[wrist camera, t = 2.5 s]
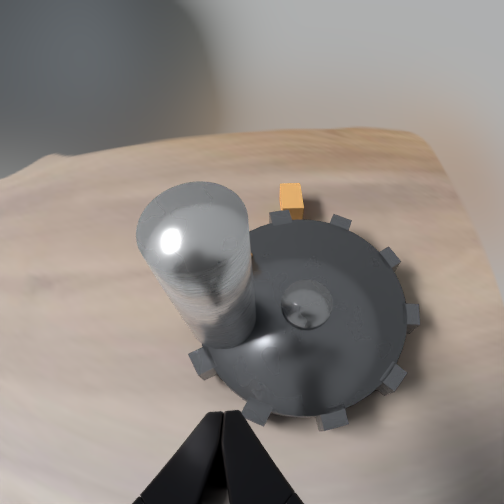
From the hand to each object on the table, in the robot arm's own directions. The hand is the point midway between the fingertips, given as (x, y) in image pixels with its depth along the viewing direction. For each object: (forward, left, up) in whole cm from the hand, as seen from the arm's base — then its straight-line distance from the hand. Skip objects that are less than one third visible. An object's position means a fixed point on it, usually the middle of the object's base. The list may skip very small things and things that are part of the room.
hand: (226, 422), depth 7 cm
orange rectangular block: (+9, -14, -12) cm, 20 cm away
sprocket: (+2, -7, -12) cm, 14 cm away
